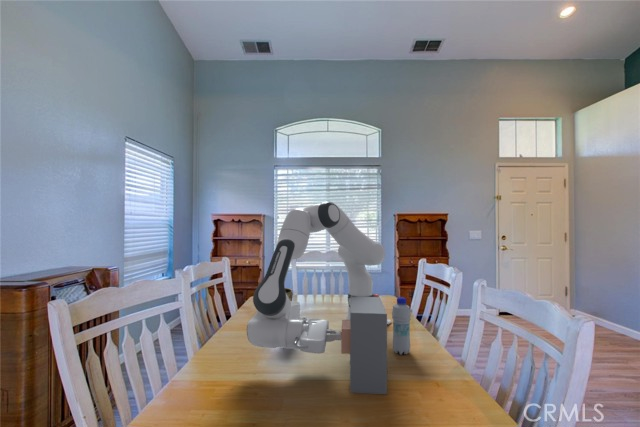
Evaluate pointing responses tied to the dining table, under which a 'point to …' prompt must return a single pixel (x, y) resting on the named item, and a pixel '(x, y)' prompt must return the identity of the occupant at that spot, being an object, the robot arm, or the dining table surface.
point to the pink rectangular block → (345, 337)
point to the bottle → (401, 326)
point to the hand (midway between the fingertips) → (341, 335)
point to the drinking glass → (294, 310)
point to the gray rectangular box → (368, 345)
